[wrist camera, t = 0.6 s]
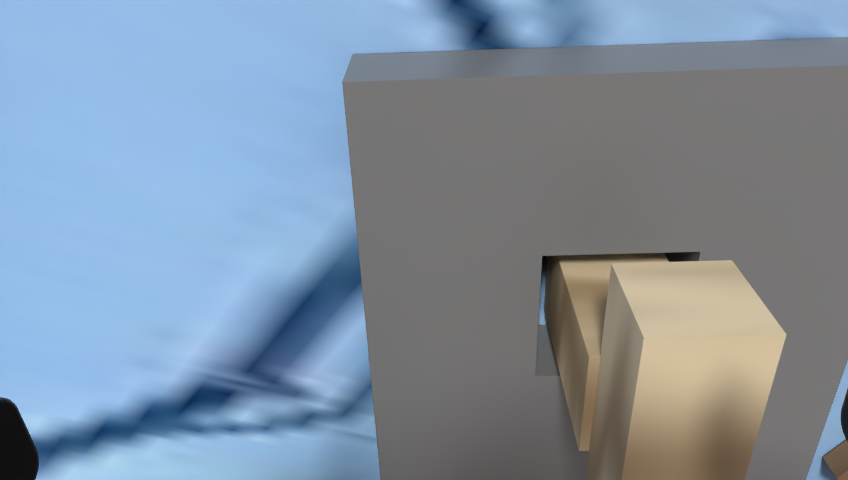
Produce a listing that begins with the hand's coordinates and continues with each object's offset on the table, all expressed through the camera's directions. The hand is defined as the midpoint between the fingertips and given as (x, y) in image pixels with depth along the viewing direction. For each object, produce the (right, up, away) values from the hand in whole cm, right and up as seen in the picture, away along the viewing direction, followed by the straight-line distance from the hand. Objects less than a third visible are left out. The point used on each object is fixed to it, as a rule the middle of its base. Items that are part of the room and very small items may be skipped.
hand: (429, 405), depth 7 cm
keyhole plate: (+5, +1, +14) cm, 15 cm away
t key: (+5, +1, +14) cm, 15 cm away
